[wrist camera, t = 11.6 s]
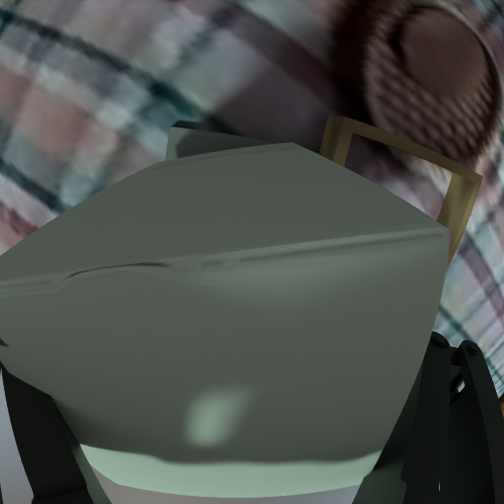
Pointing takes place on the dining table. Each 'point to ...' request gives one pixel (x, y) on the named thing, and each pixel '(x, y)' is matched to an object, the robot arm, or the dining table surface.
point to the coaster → (206, 142)
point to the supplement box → (228, 321)
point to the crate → (462, 180)
